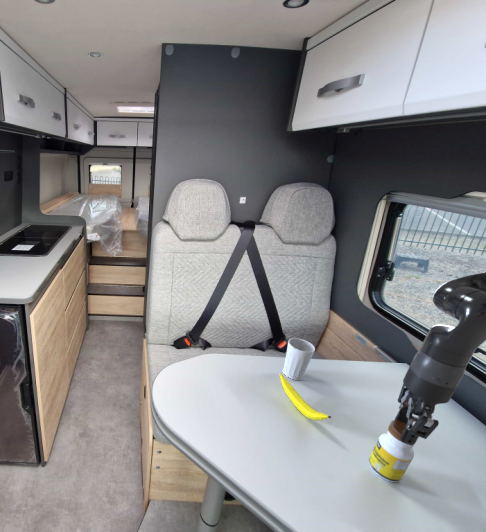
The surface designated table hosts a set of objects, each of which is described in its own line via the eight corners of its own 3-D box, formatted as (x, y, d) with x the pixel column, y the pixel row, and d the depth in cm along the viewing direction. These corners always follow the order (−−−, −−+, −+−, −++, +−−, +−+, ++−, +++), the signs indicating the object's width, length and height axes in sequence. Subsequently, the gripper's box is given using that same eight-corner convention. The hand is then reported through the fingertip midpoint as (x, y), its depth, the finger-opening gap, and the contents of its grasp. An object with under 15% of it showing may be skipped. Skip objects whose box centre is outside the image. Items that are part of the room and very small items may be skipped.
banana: (280, 384, 101) (284, 368, 99) (328, 433, 84) (335, 416, 82) (272, 385, 100) (277, 369, 98) (319, 435, 83) (326, 417, 81)
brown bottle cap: (412, 431, 72) (415, 426, 71) (418, 448, 67) (422, 442, 67) (385, 422, 74) (388, 416, 73) (390, 438, 70) (393, 432, 69)
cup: (282, 363, 111) (290, 335, 107) (306, 372, 107) (316, 344, 103) (277, 375, 105) (286, 345, 101) (303, 385, 101) (313, 355, 97)
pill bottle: (365, 453, 79) (381, 419, 75) (396, 465, 76) (414, 430, 72) (370, 475, 73) (388, 440, 69) (404, 489, 71) (424, 453, 67)
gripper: (473, 403, 57) (435, 467, 63) (444, 361, 69) (414, 418, 75) (421, 387, 60) (389, 450, 66) (402, 349, 72) (376, 405, 78)
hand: (402, 433), depth 70 cm, fingers closed on brown bottle cap, 5 cm apart
